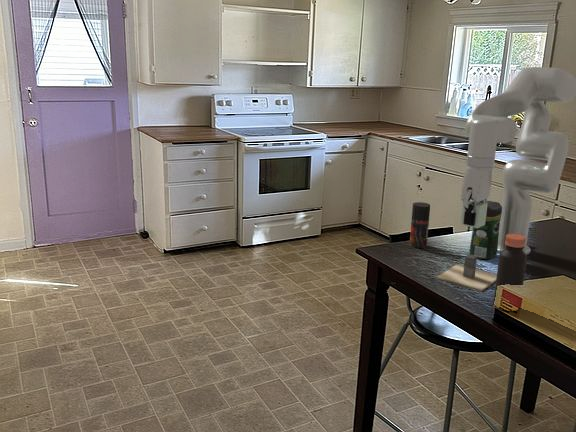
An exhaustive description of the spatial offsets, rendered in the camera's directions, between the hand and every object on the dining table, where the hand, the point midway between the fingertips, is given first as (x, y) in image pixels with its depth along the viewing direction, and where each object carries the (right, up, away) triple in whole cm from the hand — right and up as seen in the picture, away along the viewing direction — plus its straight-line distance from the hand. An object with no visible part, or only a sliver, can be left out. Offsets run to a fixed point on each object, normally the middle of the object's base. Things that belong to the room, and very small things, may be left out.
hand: (473, 222), depth 165 cm
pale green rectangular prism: (0, -1, 0) cm, 1 cm away
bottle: (+4, -23, -14) cm, 27 cm away
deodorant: (-9, -9, +33) cm, 35 cm away
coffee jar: (+11, -12, +24) cm, 29 cm away
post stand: (0, -17, +5) cm, 18 cm away
